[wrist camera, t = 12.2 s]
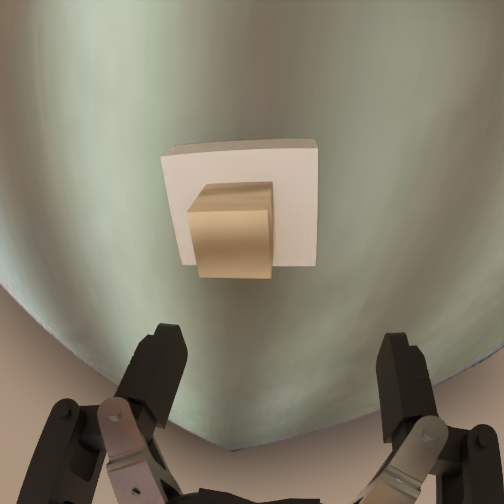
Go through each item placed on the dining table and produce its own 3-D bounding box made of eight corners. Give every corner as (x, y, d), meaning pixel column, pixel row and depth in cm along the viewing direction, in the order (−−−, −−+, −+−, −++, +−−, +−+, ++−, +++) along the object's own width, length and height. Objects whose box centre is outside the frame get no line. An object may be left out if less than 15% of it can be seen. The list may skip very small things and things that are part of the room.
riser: (175, 145, 30) (160, 156, 27) (314, 138, 28) (317, 148, 25) (192, 245, 37) (182, 264, 33) (313, 245, 35) (315, 266, 31)
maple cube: (206, 183, 28) (186, 212, 23) (272, 181, 27) (267, 210, 22) (214, 240, 31) (199, 277, 26) (275, 240, 30) (271, 278, 25)
